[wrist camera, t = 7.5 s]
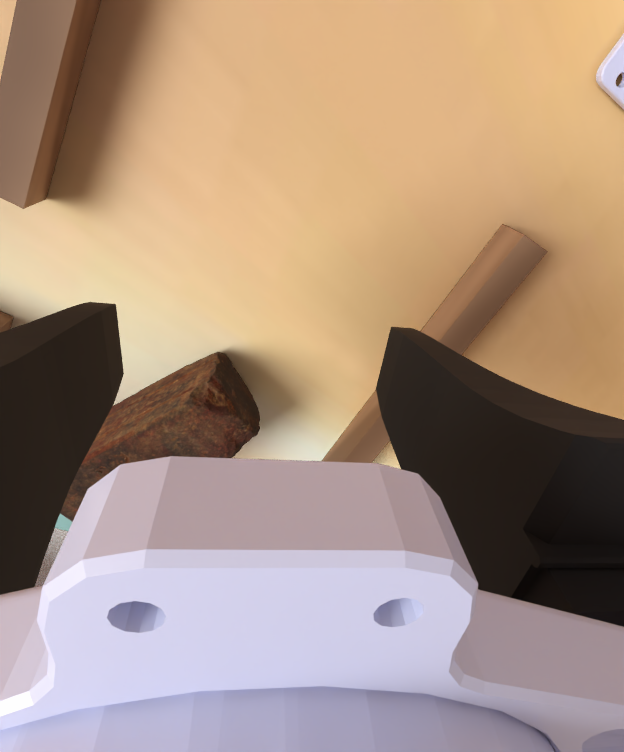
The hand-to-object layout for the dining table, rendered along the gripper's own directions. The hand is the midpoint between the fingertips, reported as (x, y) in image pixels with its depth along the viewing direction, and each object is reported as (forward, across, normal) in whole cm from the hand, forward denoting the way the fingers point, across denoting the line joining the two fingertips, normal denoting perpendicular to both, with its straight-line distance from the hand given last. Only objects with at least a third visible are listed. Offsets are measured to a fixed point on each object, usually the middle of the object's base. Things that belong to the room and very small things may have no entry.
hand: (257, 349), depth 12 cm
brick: (+10, +5, +10) cm, 15 cm away
